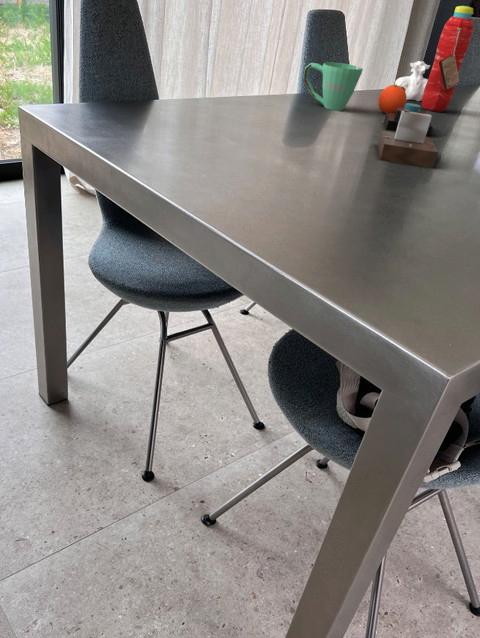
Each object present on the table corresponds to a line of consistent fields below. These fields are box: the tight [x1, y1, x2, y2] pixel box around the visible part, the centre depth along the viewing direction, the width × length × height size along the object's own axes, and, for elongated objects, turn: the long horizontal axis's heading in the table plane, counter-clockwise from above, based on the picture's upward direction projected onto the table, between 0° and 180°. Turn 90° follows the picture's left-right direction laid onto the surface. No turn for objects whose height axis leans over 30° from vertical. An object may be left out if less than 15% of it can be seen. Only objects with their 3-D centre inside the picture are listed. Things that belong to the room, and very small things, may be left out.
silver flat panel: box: [395, 110, 432, 144], centre depth 110 cm, size 6×2×5 cm, turn 78°
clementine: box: [377, 84, 407, 115], centre depth 147 cm, size 8×7×7 cm
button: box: [403, 102, 422, 113], centre depth 133 cm, size 4×4×2 cm
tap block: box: [377, 130, 439, 169], centre depth 112 cm, size 10×12×3 cm
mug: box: [303, 61, 364, 112], centre depth 145 cm, size 15×10×10 cm
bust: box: [394, 60, 431, 102], centre depth 171 cm, size 12×8×11 cm
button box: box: [383, 107, 434, 138], centre depth 134 cm, size 10×10×4 cm
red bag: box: [421, 5, 474, 113], centre depth 152 cm, size 12×8×25 cm, turn 163°
